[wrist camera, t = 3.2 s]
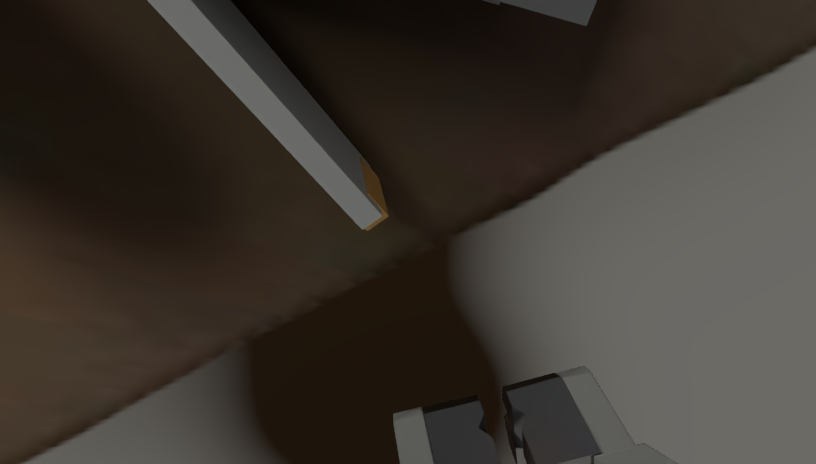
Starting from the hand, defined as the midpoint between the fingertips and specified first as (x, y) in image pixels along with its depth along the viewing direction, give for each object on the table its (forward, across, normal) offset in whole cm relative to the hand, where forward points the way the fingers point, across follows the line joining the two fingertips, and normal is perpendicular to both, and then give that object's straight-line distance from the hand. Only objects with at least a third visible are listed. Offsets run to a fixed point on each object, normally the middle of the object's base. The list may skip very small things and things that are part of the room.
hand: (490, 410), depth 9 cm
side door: (+17, +4, -3) cm, 18 cm away
